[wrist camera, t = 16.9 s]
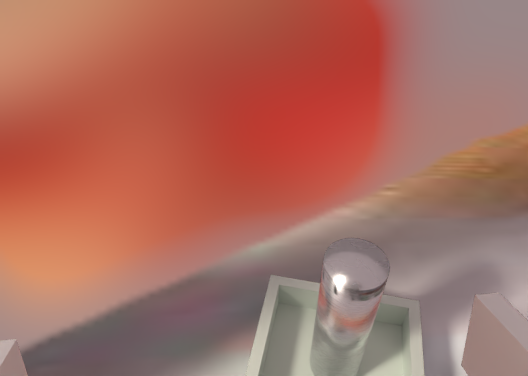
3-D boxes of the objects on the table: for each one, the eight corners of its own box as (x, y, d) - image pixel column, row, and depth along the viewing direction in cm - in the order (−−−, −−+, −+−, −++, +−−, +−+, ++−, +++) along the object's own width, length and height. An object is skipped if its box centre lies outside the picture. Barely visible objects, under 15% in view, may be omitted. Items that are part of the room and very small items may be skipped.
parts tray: (241, 418, 35) (239, 398, 33) (270, 298, 44) (270, 274, 42) (415, 459, 33) (428, 440, 31) (409, 324, 42) (419, 300, 39)
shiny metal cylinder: (306, 381, 37) (320, 282, 28) (312, 335, 40) (327, 233, 31) (357, 392, 36) (390, 295, 27) (360, 345, 39) (389, 243, 30)
